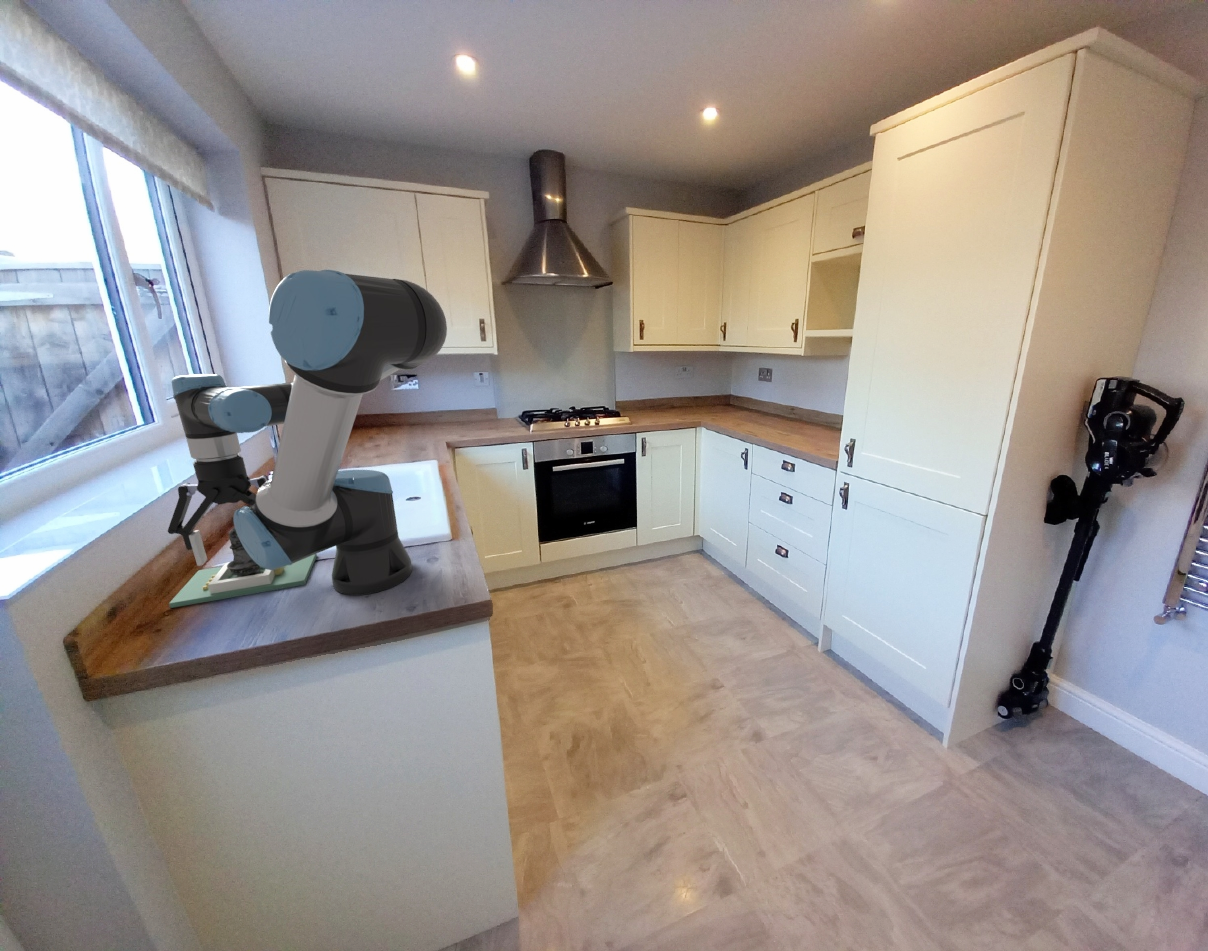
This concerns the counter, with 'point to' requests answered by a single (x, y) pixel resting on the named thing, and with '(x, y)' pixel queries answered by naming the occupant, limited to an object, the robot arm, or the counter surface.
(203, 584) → the header board
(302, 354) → the robot arm
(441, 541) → the counter surface
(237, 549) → the dark grey tiered ornament
